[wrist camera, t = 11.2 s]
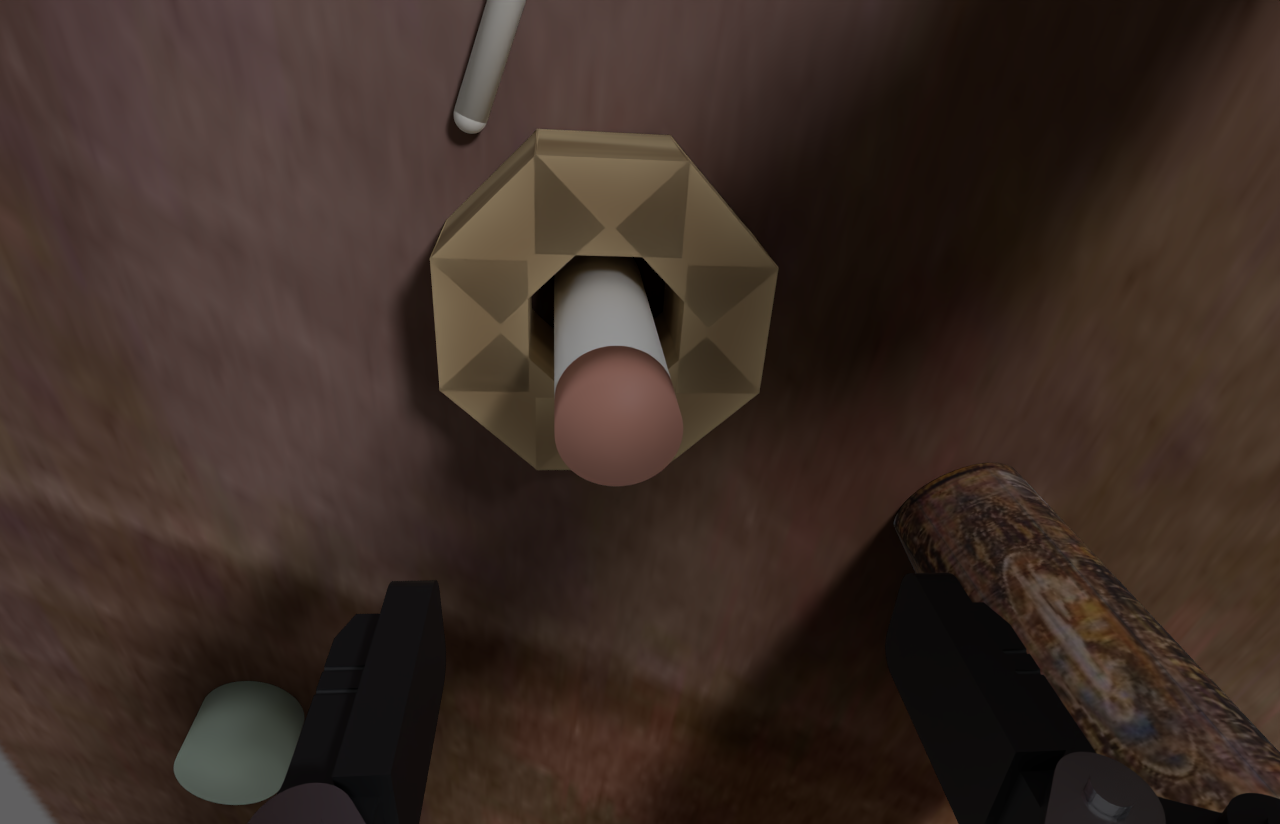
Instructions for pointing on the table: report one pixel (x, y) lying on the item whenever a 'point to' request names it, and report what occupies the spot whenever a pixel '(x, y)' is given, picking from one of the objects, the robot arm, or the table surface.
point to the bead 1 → (240, 743)
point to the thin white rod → (487, 63)
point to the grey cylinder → (610, 375)
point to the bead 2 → (596, 226)
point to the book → (1088, 637)
